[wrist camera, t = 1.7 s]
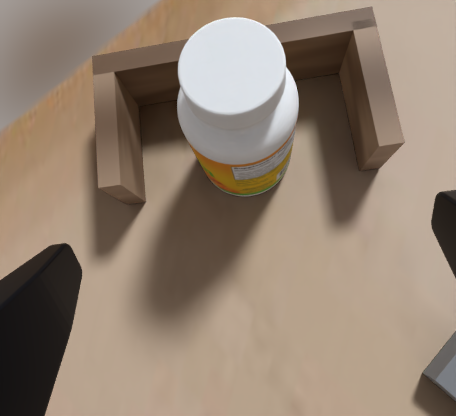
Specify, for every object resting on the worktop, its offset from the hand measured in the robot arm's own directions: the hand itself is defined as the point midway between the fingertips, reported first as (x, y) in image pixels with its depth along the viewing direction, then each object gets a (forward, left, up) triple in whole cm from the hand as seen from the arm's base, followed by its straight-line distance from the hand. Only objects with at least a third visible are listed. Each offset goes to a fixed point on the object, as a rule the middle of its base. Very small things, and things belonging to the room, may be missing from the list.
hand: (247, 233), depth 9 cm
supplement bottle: (+4, +5, -13) cm, 14 cm away
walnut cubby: (+6, +6, -13) cm, 15 cm away
